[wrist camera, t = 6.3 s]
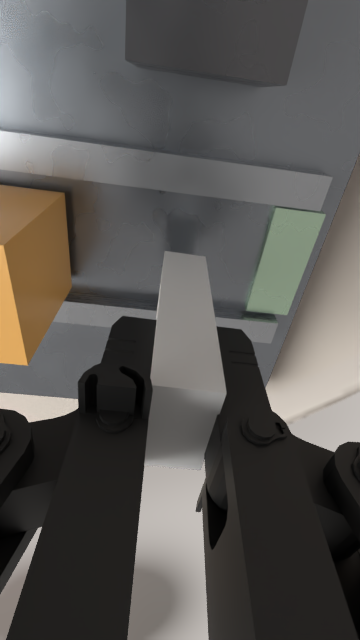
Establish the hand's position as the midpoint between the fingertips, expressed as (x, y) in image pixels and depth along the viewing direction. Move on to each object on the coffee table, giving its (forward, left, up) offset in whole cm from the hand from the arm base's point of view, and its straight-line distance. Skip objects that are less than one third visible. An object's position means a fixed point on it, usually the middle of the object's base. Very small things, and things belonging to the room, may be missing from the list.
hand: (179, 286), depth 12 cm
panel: (0, -3, -5) cm, 6 cm away
